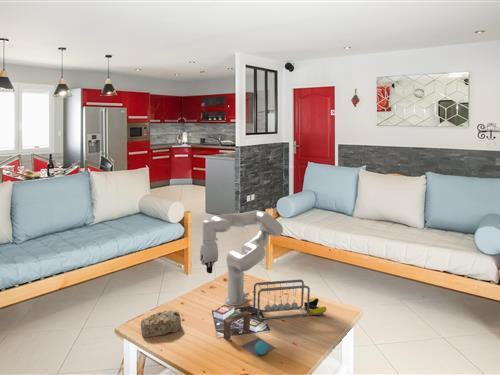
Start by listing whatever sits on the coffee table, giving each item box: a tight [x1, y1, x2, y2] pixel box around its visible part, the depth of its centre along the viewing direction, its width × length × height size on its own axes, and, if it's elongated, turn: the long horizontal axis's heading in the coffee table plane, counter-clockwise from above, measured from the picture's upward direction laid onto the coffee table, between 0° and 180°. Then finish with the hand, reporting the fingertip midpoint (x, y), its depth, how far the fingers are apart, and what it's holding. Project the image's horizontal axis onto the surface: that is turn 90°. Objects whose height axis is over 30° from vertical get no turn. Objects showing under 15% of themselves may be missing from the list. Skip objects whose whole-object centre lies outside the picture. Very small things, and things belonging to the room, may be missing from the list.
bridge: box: [223, 310, 251, 341], centre depth 210 cm, size 3×15×10 cm, turn 132°
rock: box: [140, 310, 182, 338], centre depth 214 cm, size 21×14×10 cm
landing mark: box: [240, 337, 277, 358], centre depth 199 cm, size 12×12×1 cm
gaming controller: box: [303, 297, 327, 316], centre depth 237 cm, size 15×6×10 cm
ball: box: [255, 340, 268, 356], centre depth 193 cm, size 6×6×6 cm
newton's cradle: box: [252, 279, 311, 320], centre depth 232 cm, size 30×10×18 cm, turn 103°
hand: (209, 272), depth 234 cm, fingers closed
